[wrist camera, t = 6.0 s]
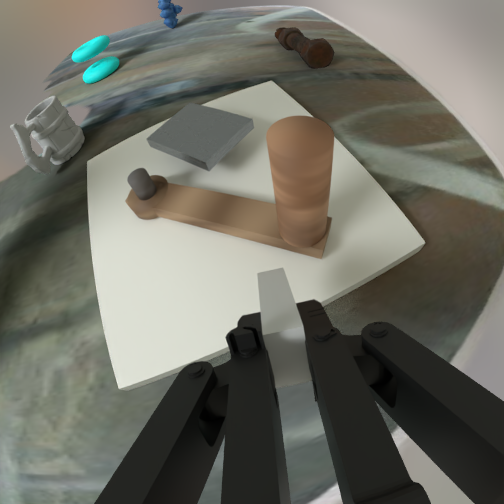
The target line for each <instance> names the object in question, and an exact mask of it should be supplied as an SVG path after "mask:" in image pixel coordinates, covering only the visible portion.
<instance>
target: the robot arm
mask: <svg viewBox="0 0 504 504" xmlns="http://www.w3.org/2000/svg"><path fill="white" fill-rule="evenodd" d="M257 276H258V288H259V300H260V312H257V313H252V314H247V315H242V316H241V318H240V319H239V320H238V323H237V327H236V328H234V329H232V330H231V331H230V332H228V333H227V335H226V337H225V338H226V341H227V344H228V347H229V350H230V353H231V359H230V360H229V361H228V362H226V363H224V364H222V365H219V366H216V367H214V368H213V367H212V365H211V364H210V363H208V362H205V361H199V362H193V363H191V364H189V365H187V366H185V367H184V368H183V369H182V370H181V371H180V373H179V374H178V376H177V377H176V379H175V380H174V382H173V384H172V385H171V387H170V388H169V390H168V391H167V393H166V394H165V396H164V397H163V399H162V401H161V402H160V404H159V405H158V407H157V408H156V410H155V411H154V413H153V414H152V416H151V418H150V419H149V421H148V422H147V424H146V425H145V427H144V428H143V430H142V431H141V433H140V435H139V436H138V438H137V439H136V441H135V442H134V444H133V445H132V447H131V448H130V450H129V451H128V453H127V454H126V456H125V458H124V459H123V461H122V462H121V464H120V465H119V467H118V468H117V470H116V471H115V473H114V474H113V476H112V477H111V479H110V481H109V482H108V484H107V485H106V487H105V488H104V490H103V491H102V493H101V494H100V496H99V497H98V499H97V500H96V502H95V503H94V504H197V503H198V500H199V498H200V496H201V493H202V491H203V489H204V486H205V484H206V481H207V479H208V476H209V474H210V471H211V469H212V467H213V464H214V462H215V459H216V457H217V454H218V451H219V449H220V446H221V444H222V441H223V439H224V436H225V446H224V462H223V477H222V494H221V504H291V499H290V491H289V483H288V474H287V466H286V458H285V450H284V442H283V434H282V426H281V418H280V410H279V402H278V396H277V392H276V388H280V387H285V386H290V385H295V384H300V383H304V382H309V381H313V388H314V395H315V402H316V401H317V403H318V407H319V411H320V415H321V418H322V422H323V426H324V430H325V434H326V437H327V441H328V445H329V449H330V453H331V457H332V461H333V465H334V469H335V473H336V477H337V481H338V485H339V489H340V493H341V497H342V502H343V504H431V502H430V500H429V498H428V496H427V494H426V492H425V490H424V488H423V487H422V486H421V485H420V484H419V483H416V482H413V481H412V480H411V478H410V476H409V474H408V472H407V470H406V467H405V465H404V463H403V460H402V458H401V456H400V454H399V451H398V449H397V447H396V445H395V443H394V440H393V438H392V436H391V434H390V432H389V430H388V428H387V425H386V423H385V421H384V419H383V417H382V415H381V413H380V411H379V408H378V406H377V404H376V402H377V403H378V404H379V405H380V406H381V407H382V408H383V409H384V411H385V412H386V413H387V414H388V415H389V416H390V417H391V418H392V419H393V420H394V421H395V422H396V423H397V424H398V425H399V426H400V427H401V428H402V429H403V430H404V432H405V433H406V434H407V435H408V436H409V437H410V438H411V439H412V440H413V441H414V442H415V443H416V444H417V445H418V446H419V447H420V448H421V449H422V450H423V451H424V452H425V453H426V454H427V455H428V457H430V458H431V460H432V461H433V462H434V463H435V464H436V465H437V466H438V467H439V468H440V469H441V470H442V471H443V472H444V473H445V474H446V475H447V476H448V477H449V478H450V479H451V480H452V481H453V482H454V483H455V484H456V485H457V486H458V487H459V488H460V489H461V490H462V491H463V492H464V493H465V494H466V495H467V497H468V498H469V499H471V500H472V502H473V503H475V504H504V401H502V400H501V399H500V398H498V397H497V396H495V395H494V394H492V393H491V392H490V391H488V390H487V389H485V388H484V387H482V386H481V385H480V384H478V383H477V382H475V381H474V380H472V379H471V378H470V377H468V376H467V375H465V374H464V373H462V372H461V371H460V370H458V369H457V368H455V367H454V366H452V365H451V364H449V363H448V362H447V361H445V360H444V359H442V358H441V357H439V356H438V355H436V354H435V353H433V352H432V351H431V350H429V349H428V348H426V347H425V346H423V345H422V344H420V343H419V342H417V341H416V340H414V339H413V338H411V337H410V336H408V335H407V334H405V333H404V332H403V331H401V330H400V329H398V328H397V327H395V326H394V325H392V324H390V323H387V322H374V323H371V324H368V325H367V326H365V327H364V328H363V330H362V331H361V335H353V336H348V335H342V334H341V333H340V331H339V330H338V329H337V328H334V327H333V326H332V324H331V322H330V320H329V318H328V316H327V314H326V312H325V310H324V308H323V306H322V304H321V303H320V302H318V301H317V300H315V299H312V300H308V301H304V302H299V303H295V300H294V297H293V294H292V291H291V288H290V285H289V282H288V279H287V277H286V274H285V271H284V268H278V269H274V270H269V271H265V272H260V273H257ZM275 386H276V387H275ZM375 401H376V402H375Z"/></svg>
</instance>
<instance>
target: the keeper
mask: <svg viewBox="0 0 504 504" xmlns="http://www.w3.org/2000/svg"><path fill="white" fill-rule="evenodd" d="M253 129H254V124H253V119H251V118H248V117H245V116H241V115H238V114H234V113H230V112H227V111H223V110H219V109H215V108H211V107H207V106H203V105H199V104H194V103H189V104H188V105H186V106H185V107H184V108H183V109H181V110H180V111H179V112H177V113H176V114H175V115H174V116H173V117H171V118H170V119H169V120H168V121H167V122H165V123H164V124H163V125H162V126H161V127H159V128H158V129H157V130H156V131H155V132H154V133H152V134H151V135H150V136H149V137H148V138H147V139H146V140H147V141H148V143H149V145H150V147H152V148H154V149H157V150H159V151H162V152H164V153H167V154H169V155H171V156H174V157H176V158H179V159H181V160H183V161H186V162H188V163H190V164H193V165H195V166H197V167H200V168H202V169H204V170H207V171H210V170H211V169H212V168H213V167H214V166H215V165H216V164H217V163H218V162H219V161H220V160H221V159H222V158H223V157H224V156H225V155H226V154H227V153H228V152H229V151H230V150H231V149H233V148H234V147H235V146H236V145H237V144H238V143H239V142H240V141H241V140H242V139H243V138H244V137H245V136H246V135H247V134H248V133H249V132H250V131H251V130H253Z"/></svg>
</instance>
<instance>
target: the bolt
mask: <svg viewBox="0 0 504 504" xmlns="http://www.w3.org/2000/svg"><path fill="white" fill-rule="evenodd" d="M276 31H277V32H275V37H276V38H277V39H278V41H279V42H280V43H281V44H282V46H283V47H284V48H285V49H287V50H294V49H295V50H296V51H298V52H299V53H301V54H300V56H301V57H302V59H303V60H304V61H305V62H306V64H307V65H308V66H309V67H310V68H322V67H326V66H328V65H329V64H330V62H331V61H332V59H333V56H334V50H333V48H332V47H331V46H330V44H329V43H328V42H327V41H326V40H325V39H323V38H321V39H314V40H310V39H308V38H306V37H304V35H303V34H302V33H301V32H300V30H299V29H297V28H279V29H277V30H276Z"/></svg>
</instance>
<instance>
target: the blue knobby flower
mask: <svg viewBox="0 0 504 504" xmlns="http://www.w3.org/2000/svg"><path fill="white" fill-rule="evenodd" d="M170 1H171V0H159V1H158V3H159V5H158V8H159V9H161V10H162V11H161V14H160V16H161V17H162V18H165V20H164V24H166V26H168V27H169V28H174V27H175V26H176V24H177V21H178V19H177V18H176V16H177V14H178V13H180V12H181V10H182V7H180V6H178V5H175V6H174V4H173V3H170Z"/></svg>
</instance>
